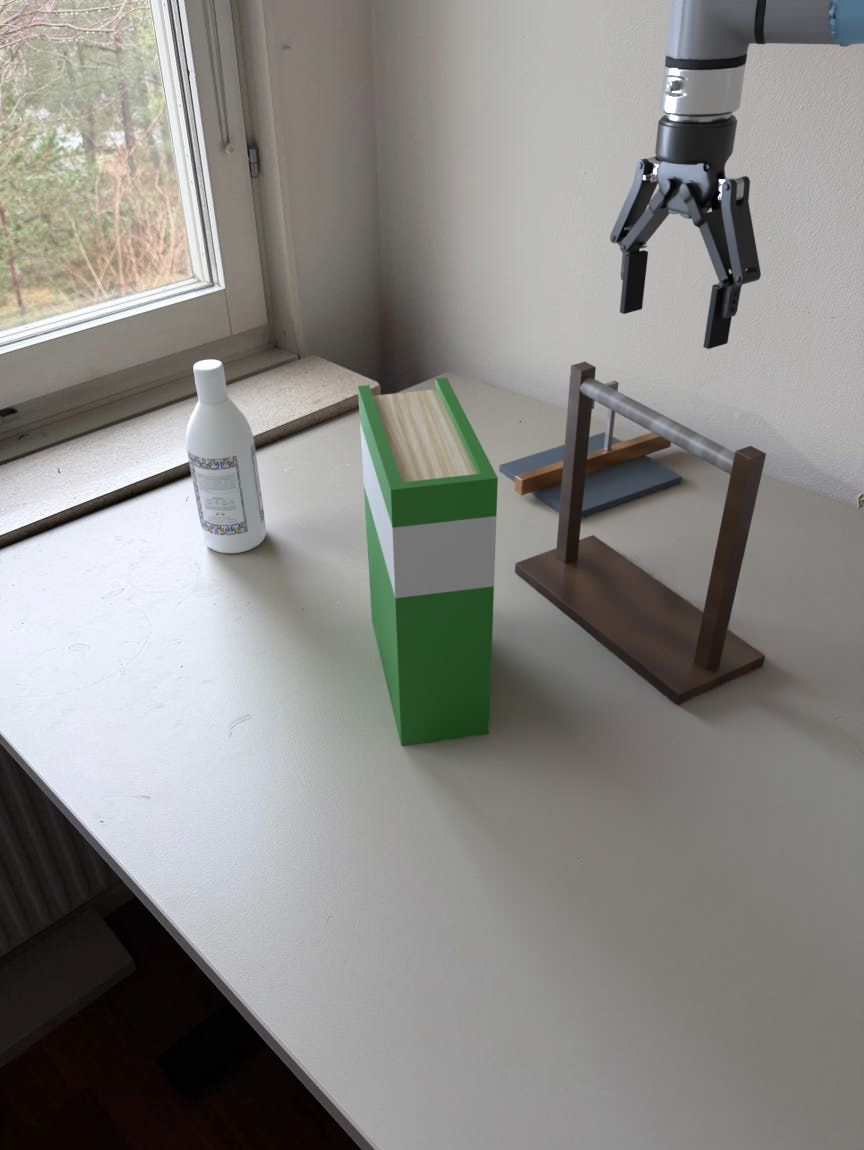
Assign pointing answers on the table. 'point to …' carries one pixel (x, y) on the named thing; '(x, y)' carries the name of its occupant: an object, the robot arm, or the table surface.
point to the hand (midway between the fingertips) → (671, 327)
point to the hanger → (594, 456)
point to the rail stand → (629, 594)
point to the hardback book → (430, 559)
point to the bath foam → (223, 466)
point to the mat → (598, 478)
